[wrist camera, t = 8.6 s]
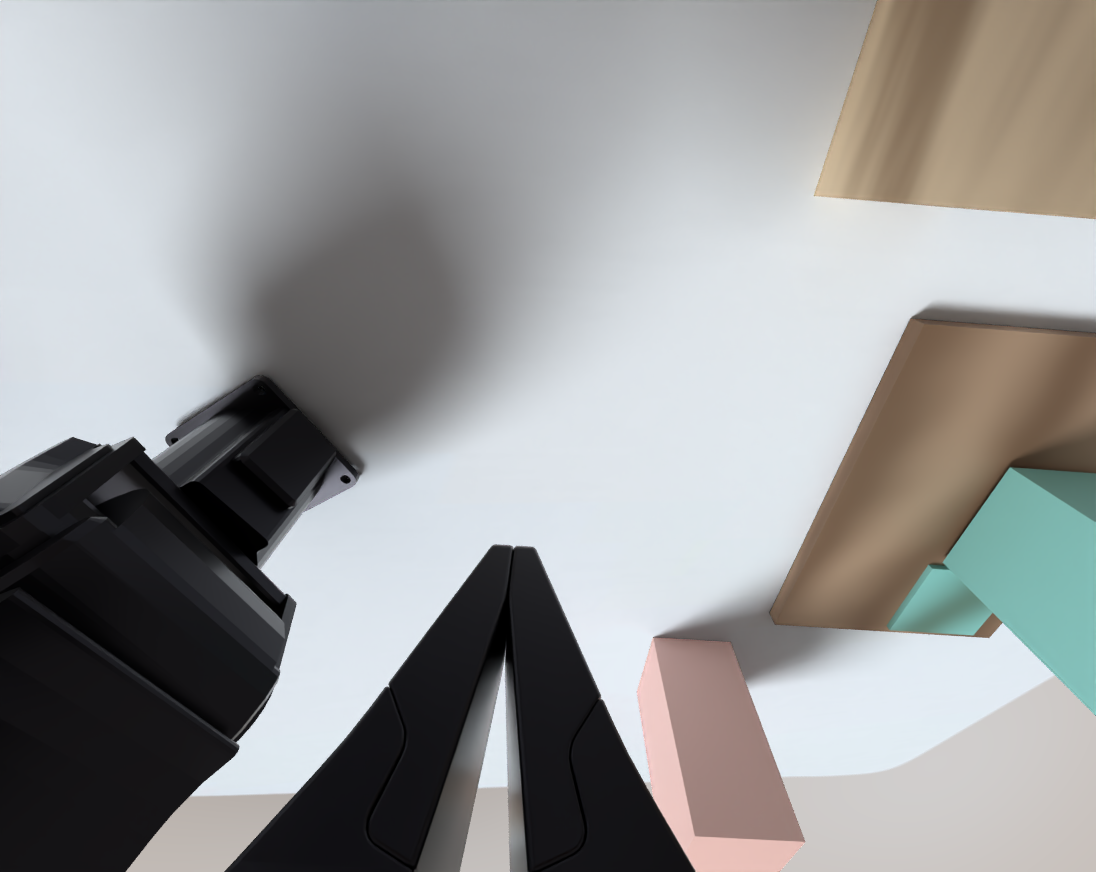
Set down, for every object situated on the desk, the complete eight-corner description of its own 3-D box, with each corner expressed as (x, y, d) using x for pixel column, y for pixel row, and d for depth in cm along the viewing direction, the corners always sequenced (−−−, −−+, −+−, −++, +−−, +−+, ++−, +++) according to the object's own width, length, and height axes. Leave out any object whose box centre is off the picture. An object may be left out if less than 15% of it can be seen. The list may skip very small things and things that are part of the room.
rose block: (636, 691, 32) (667, 885, 23) (653, 637, 29) (694, 836, 20) (707, 695, 32) (763, 890, 23) (730, 642, 29) (805, 841, 20)
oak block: (813, 195, 16) (1106, 219, 8) (888, -35, 13) (1514, -431, 5) (949, 207, 16) (1391, 242, 8) (1053, -19, 13) (1967, -376, 5)
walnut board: (769, 613, 27) (777, 628, 26) (910, 318, 18) (930, 326, 17) (978, 626, 28) (993, 642, 27) (1217, 342, 19) (1253, 351, 18)
